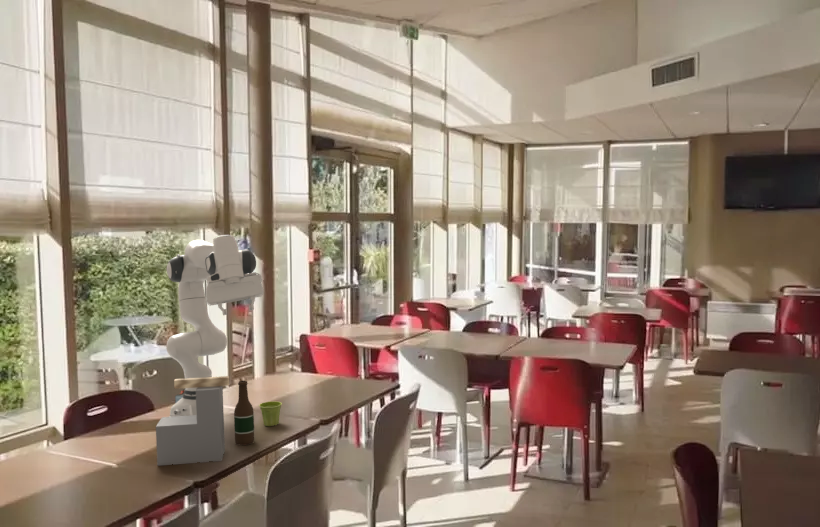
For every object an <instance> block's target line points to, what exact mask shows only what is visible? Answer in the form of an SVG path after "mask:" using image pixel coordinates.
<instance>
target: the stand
mask: <svg viewBox="0 0 820 527" xmlns="http://www.w3.org/2000/svg"><path fill="white" fill-rule="evenodd" d="M223 389H224V386H214V387H198V388H197V389H196V410H197V415H190V416H175V417H169V416H162V417H161V418H160V420H158V422H157V424H156V426H155V440H156V442H155V443H156V465H157V466H169V465H172V464H173V465H183V464H184V465H185V464H186V465H187V464H196V463H197V462H200V463H210V462H209V461H213V462H222V461H223V457H224V455H223V454H225V451H226V448H225V447H226V445H225V444H226V443H225V441H226V440H225V421H224V420H225V419H224V418H225V416H224V415H225V414H224V413H225V412H224V392H223V391H224V390H223Z"/></svg>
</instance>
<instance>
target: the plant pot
mask: <svg viewBox="0 0 820 527" xmlns="http://www.w3.org/2000/svg"><path fill="white" fill-rule="evenodd" d="M282 406H283V403H282V402H280V401H274V400H271V401H266V402H265V401H264V402H262V403H259V405H258V407H259V408H260V410H261V415H262V420H263V425H264V426H265V427H272V426H274V425H275V426H278V425H279V424H280V413H281V407H282ZM277 424H278V425H277Z"/></svg>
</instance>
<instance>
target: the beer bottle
mask: <svg viewBox="0 0 820 527" xmlns="http://www.w3.org/2000/svg"><path fill="white" fill-rule="evenodd" d="M248 384H249V383H248V381H247V380H240V381H238V384H237V385H238V399H237V400H238V401H237V403H236V405H235V408H234V411H233V412H234V414H233V420H234V421H233V423H234V443H235V445H238V446H246V445H247V446H248V444H249V445H251V444H253V442H255V418H254V416H255V414H254V407H253V404H252V403H251V402H250V400H249V394H248V393H249V392H248Z"/></svg>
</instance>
